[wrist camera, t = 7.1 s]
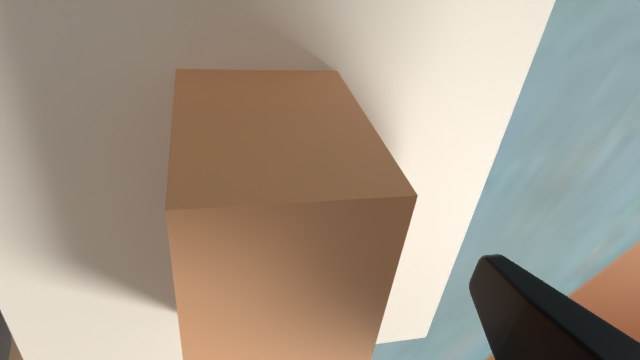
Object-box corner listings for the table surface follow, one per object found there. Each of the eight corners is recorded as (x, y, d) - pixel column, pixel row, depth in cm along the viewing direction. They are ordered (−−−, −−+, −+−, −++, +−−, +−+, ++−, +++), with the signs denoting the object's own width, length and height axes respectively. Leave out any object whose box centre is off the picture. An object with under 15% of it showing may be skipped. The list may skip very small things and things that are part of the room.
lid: (57, 325, 14) (-15, 577, 9) (-105, -120, 7) (-673, -59, 3) (401, 287, 17) (486, 465, 12) (507, -61, 10) (794, 22, 5)
